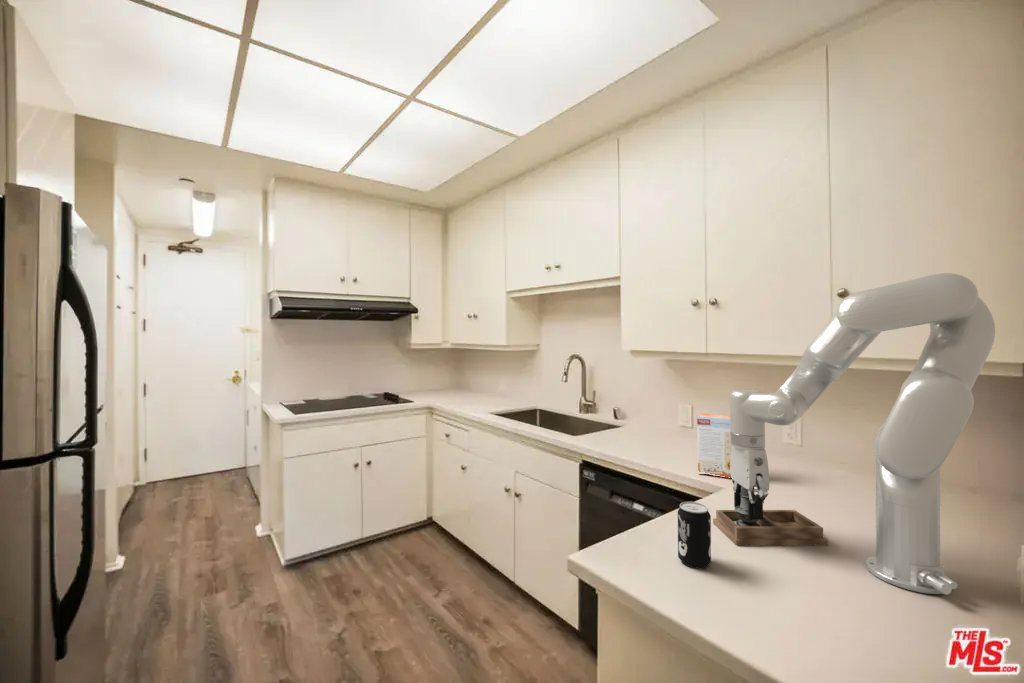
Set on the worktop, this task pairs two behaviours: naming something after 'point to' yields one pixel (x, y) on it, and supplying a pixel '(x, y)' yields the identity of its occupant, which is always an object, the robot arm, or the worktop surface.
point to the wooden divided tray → (771, 529)
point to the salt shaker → (744, 510)
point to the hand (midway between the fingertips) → (748, 512)
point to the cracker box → (714, 444)
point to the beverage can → (694, 534)
